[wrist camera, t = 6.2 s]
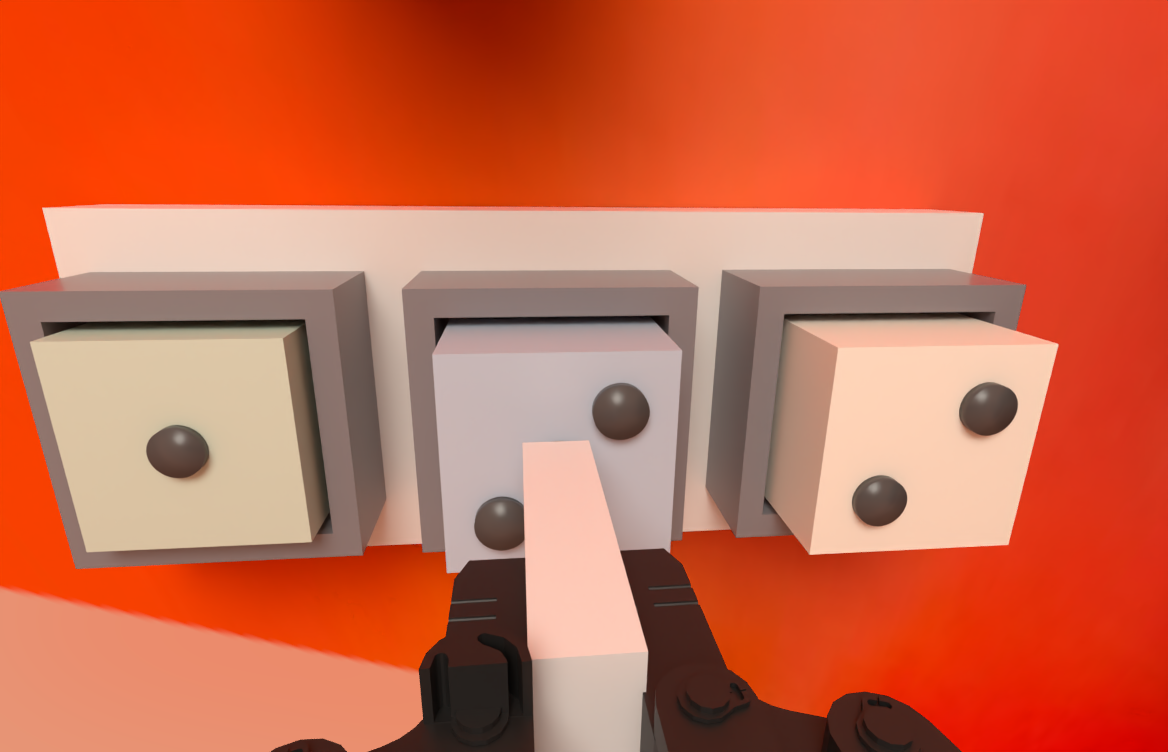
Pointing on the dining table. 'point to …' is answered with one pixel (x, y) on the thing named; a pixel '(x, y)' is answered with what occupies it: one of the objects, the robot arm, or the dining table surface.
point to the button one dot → (186, 432)
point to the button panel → (493, 290)
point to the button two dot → (903, 429)
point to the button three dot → (554, 423)
